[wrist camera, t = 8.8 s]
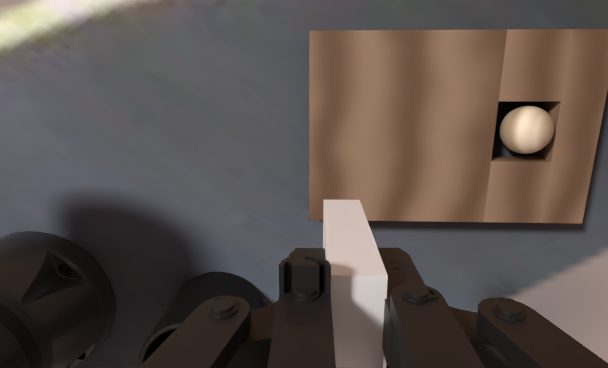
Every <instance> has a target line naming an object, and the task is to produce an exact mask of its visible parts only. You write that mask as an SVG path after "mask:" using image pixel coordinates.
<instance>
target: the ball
mask: <svg viewBox="0 0 608 368" xmlns="http://www.w3.org/2000/svg"><path fill="white" fill-rule="evenodd" d="M553 134H554V123H553V120H552V118H551V116H550V115H549V114H548V113H547V112H546V111H545V110H543V109H541V108H538V107H535V106H523V107H519V108H516V109H514V110H512V111H511V112H509V113H508V114H507V115H506V116H505V118H504V119H503V121H502V123H501V125H500V137H501V140H502V142H503V144H504V145H505V146H506V147H507V148H508V149H510V150H512V151H514V152H517V153H521V154H529V153H534V152H537V151H539V150H541V149H542V148H544V147H545V146H546V145H547V144H548V143H549V142H550V140H551V139H552V137H553Z"/></svg>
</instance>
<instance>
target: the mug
mask: <svg viewBox="0 0 608 368" xmlns="http://www.w3.org/2000/svg"><path fill="white" fill-rule="evenodd" d="M225 295H227V296H236V297H239V298H243V299H244V300H246V301H247V302H248V303H249V306H250V310H252V309H258V308H262V307H264V305H263V302H262V300H261V298H260V296H259V294H258V293H257V291H256V290H255V289H254V288H253V287H252V286H251V285H250V284H249V283H248V282H247V281H245V280H244V279H242V278H240V277H238V276H236V275H233V274H229V273H224V272H210V273H205V274H202V275H199V276H197V277H195V278H193V279H191V280H190V281H189V282H187V283H186V284H185V285H184V286H183V287H182V289H181V290H180V292H179V293H178V295H177V296H176V298H175V299H174V301H173V302H172V304H171V305H170V307H169V308H168V310H167V311H166V313H165V314H164V316H163V317H162V318H161V320H160V321H159V323H158V324H157V326H156V327H155V329H154V330H153V332H152V333H151V335H150V336H149V338H148V339H147V341H146V342H145V344H144V345H143V347H142V350H141V352H140V356H139V361H138V368H139V367H140V366H141V365H142V364H143V363H144V362H145V361H146V360H147V359H148V358H149V357H150V356H151V355H152V354H153V353H154V352H155V351H156V350H157V349H158V347H159V346H160V345H161V344H162V343H163V342H164V341H165V340H166V339H167V338H168V337H169V336H170V335H171V334H172V333H173V332H174V331H175V330H176V329H177V328H178V327H179V326H180V325H181V324H182V323H183V322H184V321H185V319H186V318H187V317H188V316H189V315H190V314H191V313H192V312H193V311H194V310H195V309H196V308H197V307H198V306H199V305H201V304H202V303H203V302H205V301H207V300H209V299H212V298H214V297H218V296H225Z"/></svg>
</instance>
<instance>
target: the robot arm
mask: <svg viewBox="0 0 608 368" xmlns="http://www.w3.org/2000/svg"><path fill="white" fill-rule="evenodd" d="M279 294H280V295H279V300H278V301H276V302H275V303H273V304H271V305H269V306H266V307H262V308H258V309H252V310H250V306H249V303H248V302H247V301H246V300H244V299H243V298H239V297H236V296H227V295H225V296H218V297H214V298H212V299H209V300H207V301H205V302H203V303H202V304H201V305H199V306H198V307H197V308H196V309H195V310H194V311H193V312H192V313H191V314H190V315H189V316H188V317H187V318H186V319H185V321H184V322H183V323H182V324H181V325H180V326H179V327H178V328H177V329H176V330H175V331H174V332H173V333H172V334H171V335H170V336H169V337H168V338H167V339H166V340H165V341H164V342H163V343H162V344H161V345H160V346H159V347H158V349H157V350H156V351H155V352H154V353H153V354H152V355H151V356H150V357H149V358H148V359H147V360H146V361H145V362H144V363H143V364H142V365H141V366H140V367H139V368H336V367H352V368H383V354H384V355H385V359H386V363H387V367H386V368H608V363H607V362H605V361H604V360H602V359H601V358H600V357H598V356H597V355H596V354H594V353H593V352H591V351H590V350H589V349H587V348H586V347H584V346H583V345H582V344H580V343H579V342H578V341H576V340H575V339H573V338H572V337H571V336H569V335H568V334H566V333H565V332H564V331H562V330H561V329H560V328H558V327H557V326H555V325H554V324H553V323H551V322H550V321H548V320H547V319H546V318H544V317H543V316H542V315H540V314H539V313H537V312H536V311H535V310H533V309H531V308H530V307H528V306H526V305H525V304H523V303H520V302H517V301H514V300H513V299H509V298H507V299H505V298H502V297H499V298H488V299H484V300H482V301H481V302H480V303H479V304H478V312H477V313H476V312H471V311H466V310H460V309H456V308H452V307H450V306H448V304H447V302H446V301H445V299H444V297H443V296H442V295H441V294H440V293H439V292H438V291H437V290H435V289H433V288H431V287H429V286H426V285H425V284H424V282H423V280H422V278H421V276H420V275H419V273H418V271H417V270H416V267H415V265H414V264H413V262H412V260H411V258H410V256H409V254H407V253H406V252H404V251H403V250H401V249H400V248H377V245H376V243H375V240H374V237H373V235H372V232H371V229H370V226H369V224H368V221H367V218H366V216H365V213H364V210H363V208H362V205H361V202H360V200H323V248H296V249H295V250H294V251H293V252H292V253H291V254H289V257H288V258H286V259H284V260H282V261H281V263H280V264H279ZM114 310H115V309H114V298H113V293H112V290H111V287H110V284H109V282H108V280H107V278H106V276H105V274H104V273H103V271H102V270H101V268H100V267H99V266H98V264H97V263H96V262H95V261H94V260H93V259H92V258H91V257H90V256H89V255H88V254H87V253H86V252H84V251H83V250H82V249H80V248H79V247H78V246H76V245H74V244H73V243H71V242H69V241H67V240H65V239H63V238H60V237H58V236H55V235H51V234H47V233H42V232H18V233H13V234H10V235H7V236H4V237H2V238H0V368H73V367H75V366H77V365H78V364H80V363H81V362H83V361H84V360H85V359H87V358H88V357H89V356H90V355H91V354H92V353H93V352H94V351H95V349H96V348H97V347H98V346H99V345H100V343H101V342H102V341H103V340H104V339H105V337H106V336H107V334H108V332H109V330H110V328H111V326H112V323H113V319H114Z"/></svg>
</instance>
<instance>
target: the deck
mask: <svg viewBox="0 0 608 368" xmlns="http://www.w3.org/2000/svg"><path fill="white" fill-rule="evenodd" d="M607 90H608V29H526V30H360V31H310V48H309V220H323V200H360V202H361V205H362V208H363V210H364V213H365V216H366V218H367V221H430V222H508V223H582V221H583V216H584V210H585V205H586V200H587V195H588V190H589V184H590V179H591V174H592V169H593V163H594V158H595V153H596V148H597V143H598V137H599V132H600V127H601V122H602V117H603V111H604V106H605V101H606V96H607ZM499 101H544V103H543V110H545V111H546V112H547V113H548V114H549V115H550V116H551V118H552V120H553V123H554V134H553V137H552V139H551V140H550V142H549V143H548V144H547V145H546V146H545V147H544V148H542V149H541V150H539V151H537V152H536V156H492V150H493V142H494V134H495V126H496V118H497V110H498V102H499Z"/></svg>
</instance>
